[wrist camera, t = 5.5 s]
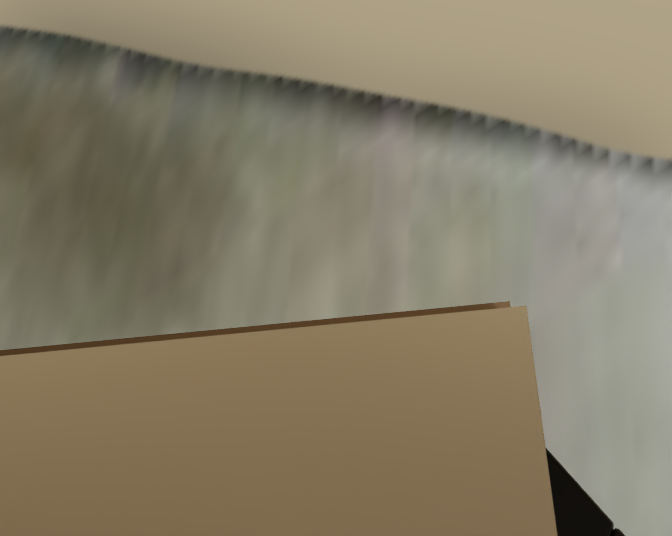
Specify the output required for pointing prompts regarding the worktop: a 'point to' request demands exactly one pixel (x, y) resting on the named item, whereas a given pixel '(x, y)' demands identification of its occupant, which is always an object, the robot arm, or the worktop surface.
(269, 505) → the brown box
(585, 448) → the worktop surface
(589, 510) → the robot arm
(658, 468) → the worktop surface
